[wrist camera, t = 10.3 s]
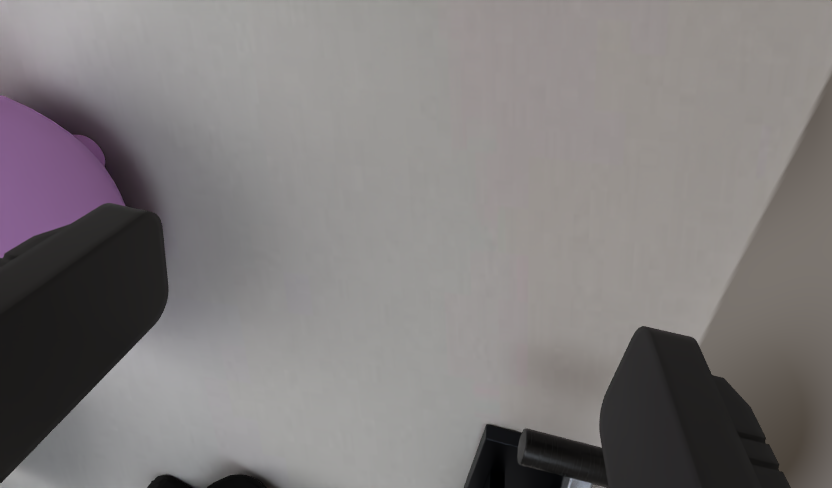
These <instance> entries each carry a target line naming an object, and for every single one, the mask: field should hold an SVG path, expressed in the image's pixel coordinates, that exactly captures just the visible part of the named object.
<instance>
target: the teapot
mask: <svg viewBox="0 0 832 488" xmlns="http://www.w3.org/2000/svg"><path fill="white" fill-rule="evenodd" d="M106 203H113V204H118V205H122V206H125V203H124V201H123V198H122V196H121V194H120V192H119V190H118V188H117V186H116V184H115V183H114V181H113V179H112V178H111V176H110V175H109V173H108V172H107V170H106V169H105V157H104V154H103V152H102V150H101V149H100V147H99V146H98V145H97V144H96V143H95V142H94V141H93V140H92V139H90V138H88V137H86V136H83V135H72V134H71V133H69V132H68V131H67V130H65V129H64V128H62V127H61V126H59V125H58V124H57V123H55V122H54V121H52V120H51V119H49V118H47V117H45V116H44V115H42V114H40V113H38V112H37V111H35V110H33V109H31V108H29V107H27V106H25V105H23V104H21V103H19V102H16V101H14V100H12V99H10V98H7V97H5V96H2V95H0V258H3V257H4V253H6V252H8V251H9V250H11V249H13V248H14V247H16V246H18V245H19V244H21V243H23V242H24V241H26V240H28V239H29V238H31V237H33V236H35V235H38V234H41V233H44V232H48V231H51V230H54V229H57V228H60V227H63V226H66V225H69V224H71V223H73V222H75V221H76V220H78V219H79V218H81V217H83V216H84V215H86V214H88V213H89V212H91V211H92V210H94V209H96V208H97V207H99V206H101V205H103V204H106Z"/></svg>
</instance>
